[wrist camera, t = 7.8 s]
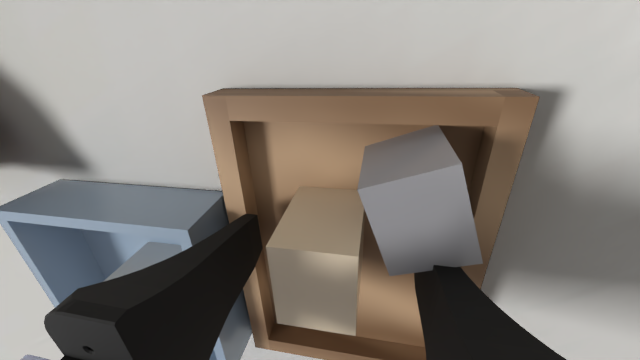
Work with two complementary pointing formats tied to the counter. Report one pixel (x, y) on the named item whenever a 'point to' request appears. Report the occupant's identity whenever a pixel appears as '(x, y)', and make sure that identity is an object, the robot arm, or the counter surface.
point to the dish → (114, 237)
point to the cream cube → (318, 260)
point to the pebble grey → (146, 258)
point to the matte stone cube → (418, 203)
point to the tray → (343, 173)
